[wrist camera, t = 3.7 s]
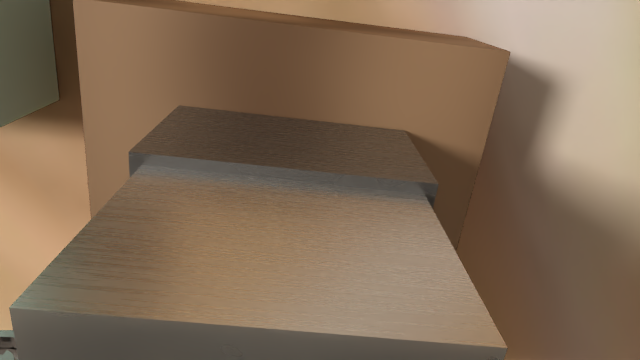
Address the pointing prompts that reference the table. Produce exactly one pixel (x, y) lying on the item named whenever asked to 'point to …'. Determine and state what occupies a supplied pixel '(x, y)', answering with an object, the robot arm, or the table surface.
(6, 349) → the robot arm
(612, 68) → the table surface
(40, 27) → the stand teal
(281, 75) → the stand walnut
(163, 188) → the block
